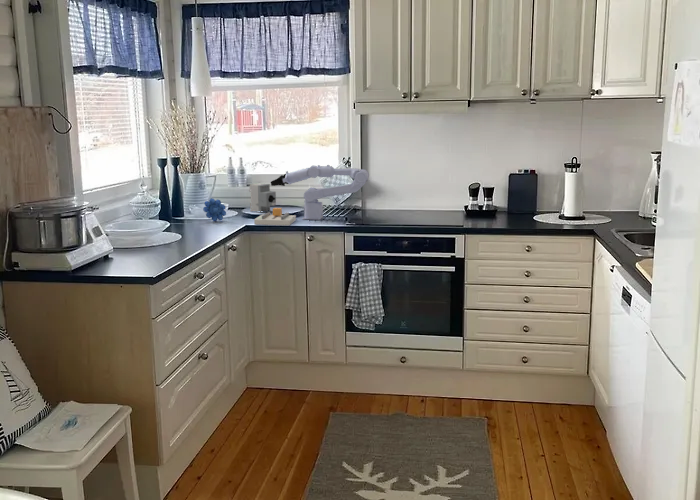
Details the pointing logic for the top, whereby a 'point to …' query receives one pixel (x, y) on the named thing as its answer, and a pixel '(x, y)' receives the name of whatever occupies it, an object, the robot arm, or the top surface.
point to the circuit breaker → (261, 197)
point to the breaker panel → (275, 219)
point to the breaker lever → (277, 211)
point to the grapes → (214, 209)
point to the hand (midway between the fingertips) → (272, 183)
